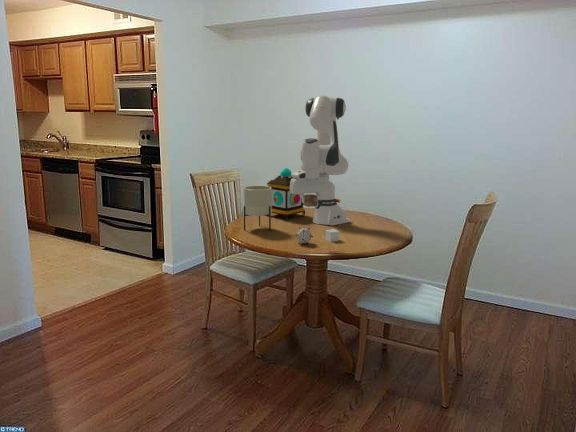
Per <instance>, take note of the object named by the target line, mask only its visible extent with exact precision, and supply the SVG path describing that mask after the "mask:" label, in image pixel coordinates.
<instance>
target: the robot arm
mask: <svg viewBox="0 0 576 432" xmlns="http://www.w3.org/2000/svg"><path fill="white" fill-rule="evenodd" d="M346 108H347V106H346V103H345V100H344V98H341V97H332V96H331V97H328V96H327V95H319V96H317V97H315V98H314V97H311V98H308V99H307V100H306V103H305V106H304V109H305V115H306V116H307V117H308V118H309V124H310V125H311V127H312V128H313V129H314V130H316V138H312V137H311V138H305V139H303V141H302V145H301V150H300V160H301V165H300V169H297V170H296V171H294V172H291V173H292V174H291V176H292V177H293V178H292V179H291V181H290V192H291V193H292V194H300V197H301V199H302V203H306V199H304V197H303V196H304V195H306V194H315V195H317V206H314V213H313V214H314V215H313V218H312V222H313V224H316V225H317V224H318V225H326V226H328V225H329V226H337V225H341V224H346V223H351V219H350V218H348V217H347V212H346V210H345V209H344V208H342V207H341V206H340V205H339V203H341V202H342V201H341V199H338V198H335V195H336V194H335V193H336V191H335V190H336V187H335V184H334V183H333V182H332V181H330V176H339V175H345V174H346V173H347V171H348V170H349V161H348V159H347V158H346V157H345V156H344V155H343V154H342V153H341V150H340V147H339V146H340V145H339V134H338V126H337V121H338V120H339V119H341V118H342V117H343V116H344V115H345V112H346V111H347V109H346Z"/></svg>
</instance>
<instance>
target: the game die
mask: <svg viewBox="0 0 576 432" xmlns="http://www.w3.org/2000/svg"><path fill="white" fill-rule="evenodd" d="M310 229H311V227H308V228H301V227H300V226H299V230H298V231H297V233H296V238H297V241H298V245H299V244H307V245H310V241H311V238H314V236H313V235H312V233H311V230H310Z"/></svg>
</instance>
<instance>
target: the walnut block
mask: <svg viewBox="0 0 576 432" xmlns="http://www.w3.org/2000/svg"><path fill="white" fill-rule="evenodd" d="M303 197H304V199H306V203H303V207H304V206H305V207H307V208H308V207H315V206H317V195H316V194H315V193H305V194H304V196H303Z"/></svg>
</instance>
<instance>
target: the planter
mask: <svg viewBox="0 0 576 432" xmlns="http://www.w3.org/2000/svg"><path fill="white" fill-rule="evenodd" d="M268 214H269V215H268ZM271 214H273V213H272V188H271V187H269V186H268V185H251V186H250V185H247V186H245V187H243V231H246V217H249V216H254V217H255V216H257V217H258V225H259V226H261V217H262V216H263V217H268V223H269V224H268V225H269V226H268V231H269V232H271V230H272V229H271V228H272V227H271V225H272V223H271V221H272V219H271V216H272V215H271Z"/></svg>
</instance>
